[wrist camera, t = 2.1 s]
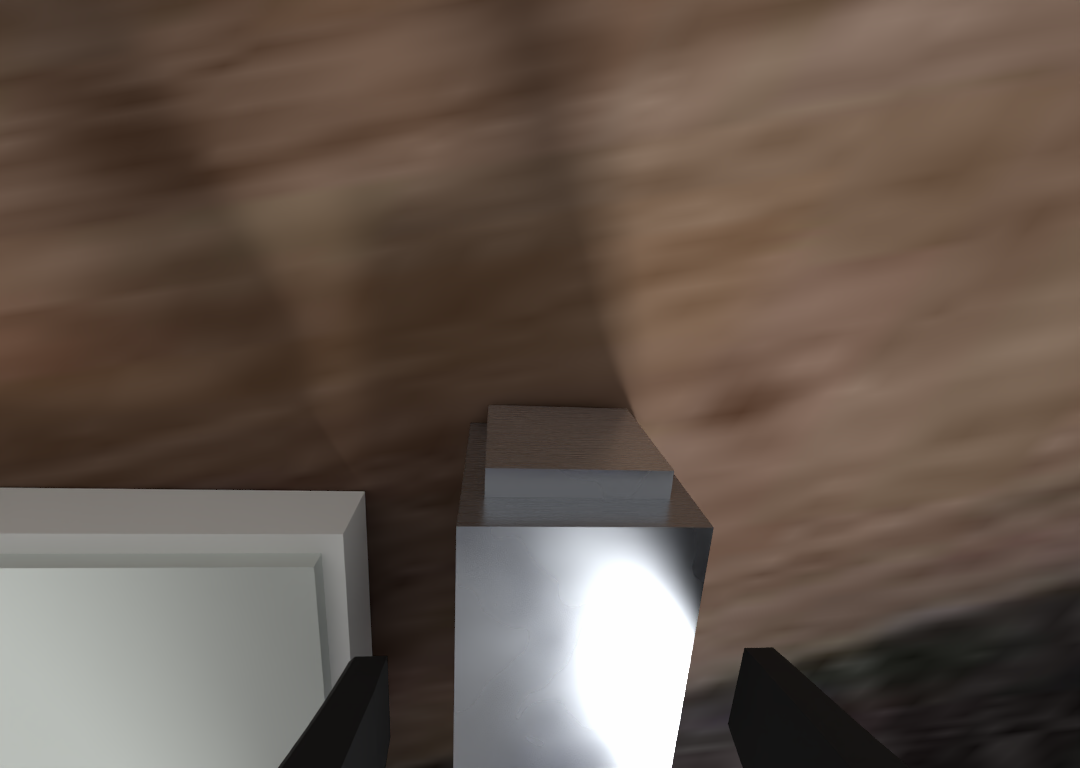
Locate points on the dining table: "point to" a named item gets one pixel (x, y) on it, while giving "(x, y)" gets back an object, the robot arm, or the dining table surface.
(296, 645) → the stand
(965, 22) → the dining table surface
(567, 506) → the block
